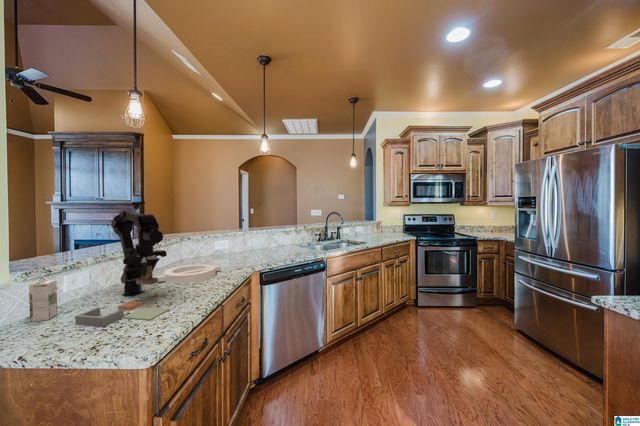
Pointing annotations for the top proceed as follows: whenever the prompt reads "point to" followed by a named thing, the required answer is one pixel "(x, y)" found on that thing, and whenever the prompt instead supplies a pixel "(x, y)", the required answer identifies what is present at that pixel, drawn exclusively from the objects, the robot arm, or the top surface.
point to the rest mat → (146, 313)
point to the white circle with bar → (189, 273)
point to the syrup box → (43, 300)
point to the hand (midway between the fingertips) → (146, 275)
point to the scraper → (147, 277)
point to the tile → (130, 305)
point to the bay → (98, 318)
